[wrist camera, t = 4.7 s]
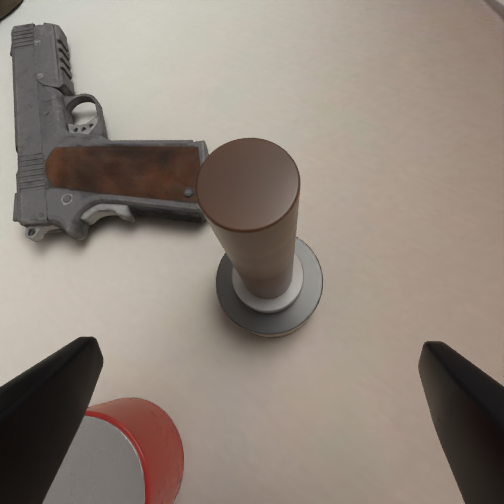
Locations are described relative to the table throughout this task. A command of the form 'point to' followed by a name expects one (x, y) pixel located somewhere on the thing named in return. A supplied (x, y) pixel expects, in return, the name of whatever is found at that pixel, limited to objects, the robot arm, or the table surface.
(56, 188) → the handgun
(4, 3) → the beer stein
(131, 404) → the tin
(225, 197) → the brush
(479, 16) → the table surface
